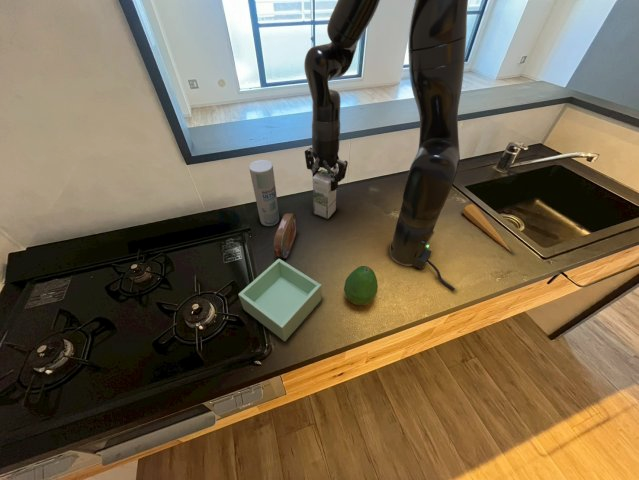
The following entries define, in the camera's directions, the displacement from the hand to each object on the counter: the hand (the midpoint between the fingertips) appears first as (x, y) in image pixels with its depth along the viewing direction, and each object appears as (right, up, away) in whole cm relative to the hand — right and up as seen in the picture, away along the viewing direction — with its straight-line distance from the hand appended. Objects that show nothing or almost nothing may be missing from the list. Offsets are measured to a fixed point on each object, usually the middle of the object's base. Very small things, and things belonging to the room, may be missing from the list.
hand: (325, 185), depth 87 cm
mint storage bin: (-11, -33, -18) cm, 39 cm away
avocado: (+8, -32, -16) cm, 36 cm away
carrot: (+50, -14, +1) cm, 52 cm away
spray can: (-18, -10, +5) cm, 21 cm away
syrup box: (0, -8, +8) cm, 11 cm away
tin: (-11, -18, -3) cm, 22 cm away
